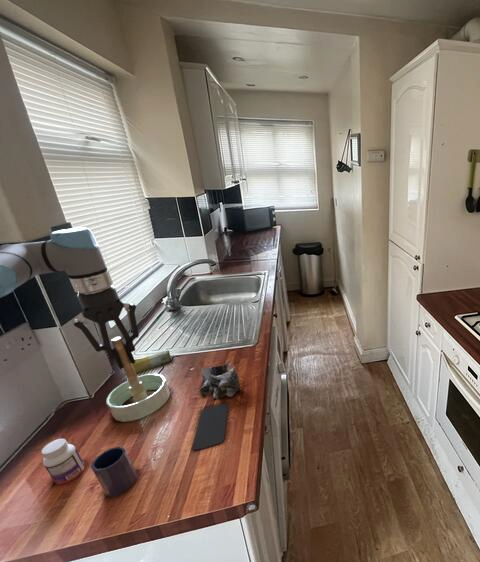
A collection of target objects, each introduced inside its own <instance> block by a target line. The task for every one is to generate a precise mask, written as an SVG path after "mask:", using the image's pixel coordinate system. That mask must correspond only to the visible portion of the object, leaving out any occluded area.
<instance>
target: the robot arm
mask: <svg viewBox="0 0 480 562" xmlns="http://www.w3.org/2000/svg"><path fill="white" fill-rule="evenodd" d="M49 236H50V239H49V240H44V241H43V240H42V241H33V242H24V243H14V244H9V243H6V244H2V245H0V299H1V298H4V297H6V296H8V295H9V294H11V293H12V292H13V291H15V290H16V289H17V288H19V287H21V286H22V285H23V284H25V283H26V282H28V281H29V280H31V279H33V278H34V277H36V276H39V275H44V274H50V273H51V274H52V273H59V272H65V273H66V275H67V277H68V279H69V281H70V284H71V286H72V288H73V290H74V292H75V293H77V294H76V297H77V300H78V302H79V304H80V306H81V309H82V311H81V316H79V317H78V318H75V319H73V320H72V324H73V326H74V327H76V329H79V330H81V332H82V333H83V334H84V336H85V338H86V339H87V340H88V341H89V343H90V344H91V346H92V347H93V349H94V350H95V351H96V352H97V353H98V352H99V353H100V352H101V351H105V353H106V355H107V357H108V359H109V360H110V361H112V360H115V363H116V365H117V367H118V368H119V369H120V370H122V369H123V365H122V363H121V361H120V358H119V356H118V354H117V351H116V349H115V347H114V346H113V344H112V345H111V342H110V338H109V333H108V330H107V329H108V328H107V325H106V324H107V323H108V322H114V323H115V325H116V327H117V328H118V329H117V330H119V332H120V334H121V336H122V337H123V339H124V340H123V343H124V346H125V348H126V350H127V353H128V355H129V358H130V360H131V363H132V364H134V363H136V362H135V361H136V360H135V358H134V355H133V352H135V351H136V347H135V345H134V340H135V339H137V338H139V336H140V335H139V330H138V329H139V328H138V325H137V319H136V309H137V305H136V304H135V303H134V302H129V303H127V302H126V303H125V302H123V301H122V300H121V299H120V297H119V295H118V293H117V289H116V286H115V285H113V283H114V282H113V279H112V277H111V274H110V272H109V269H108V267H107V264H106V261H105V259H104V257H103V254H102V251H101V247H100V244H99V243H98V241H97V239H96V237H95V235H94V233H93V231H92V230H91V229H90V228H87V227H73V228H67V229H66V228H65V229H59V230H54V231H52V232H51V233H50V234H49ZM123 309H124V310H125V312H126V314H127V319H128V324H129V329H130V333H129V331H128V330H127V329H126V327H125V325H124V323H123V322H122V319H121V318H120V316H121V313H122V311H123ZM87 320H88V321H91V322H94V323H96V324H97V327H98V330H99V335H100V338H101V342H102V344H100V343H99V342H98V340H97V339H96V337H95V336H94V334H93V333H92V332H91V330H90V329H89V327H88V325H87V324H88V322H87Z"/></svg>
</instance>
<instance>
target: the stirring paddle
mask: <svg viewBox="0 0 480 562" xmlns="http://www.w3.org/2000/svg"><path fill="white" fill-rule="evenodd" d="M123 341H124V340H123V338H122V336H115V337H113V338H111V343H112V345H113V346H114V347H115V349H116V351H117V354H118V356H119V358H120V361H121V363H122V365H123V368H122V369H123V371H124V374H125V377H126V378H127V381H129V383H130V387H129V389H130V392H131V394H132V399H133V401H134V403H137V402H139V401H141V400H144V399H146V398H147V397H149V395H148V392H147V391H145V388H144V386H143V383H142V381H141V382H139V379H138V374H137V373H136V372H135V370H134V367H133V365H132V363H131V360H130V358H129V355H128V353H127V350H126V348H125V346H124V343H123Z"/></svg>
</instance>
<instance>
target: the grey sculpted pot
mask: <svg viewBox="0 0 480 562" xmlns="http://www.w3.org/2000/svg"><path fill="white" fill-rule="evenodd" d="M235 365H236V366H234V365H233V364H232V363H231V361H228V362H226V363H225V364H223V365H219V366H212V367H210V366H209V367H208V366H206V367H201V376H202V377H201V378H202V384H203V385H202V386H201V387H200V388H199V393H200V394H202V395H204V396H206V397H207V396H208V395H211V394H212V399H219V398H221V399H223V398H224V397H226V396H227V397H231V398H232V397H233V396H234V395H235V394H236V393H237V392H240V390H241V385H240V378H239V374H238V372H237V370H236V368H235V367H237V364H235ZM229 366H231V367H232V368H230V369H229ZM228 369H229V370H228Z"/></svg>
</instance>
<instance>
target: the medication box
mask: <svg viewBox="0 0 480 562" xmlns="http://www.w3.org/2000/svg"><path fill="white" fill-rule="evenodd" d="M172 360H173V359H172V355H171V353H170V350H165V351H164V350H163V351H161V352H159V353H155V354H152V355H149V356H146V357H143V358H140V359H137V360H135V362H136V363H134V364H132V365H133V367H134V370H135V372H136V374H138V373H141V372H143V371H147V370H149V369H152V368H156V367H158V366H161V365H163V364H166V363H169V362H172Z"/></svg>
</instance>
